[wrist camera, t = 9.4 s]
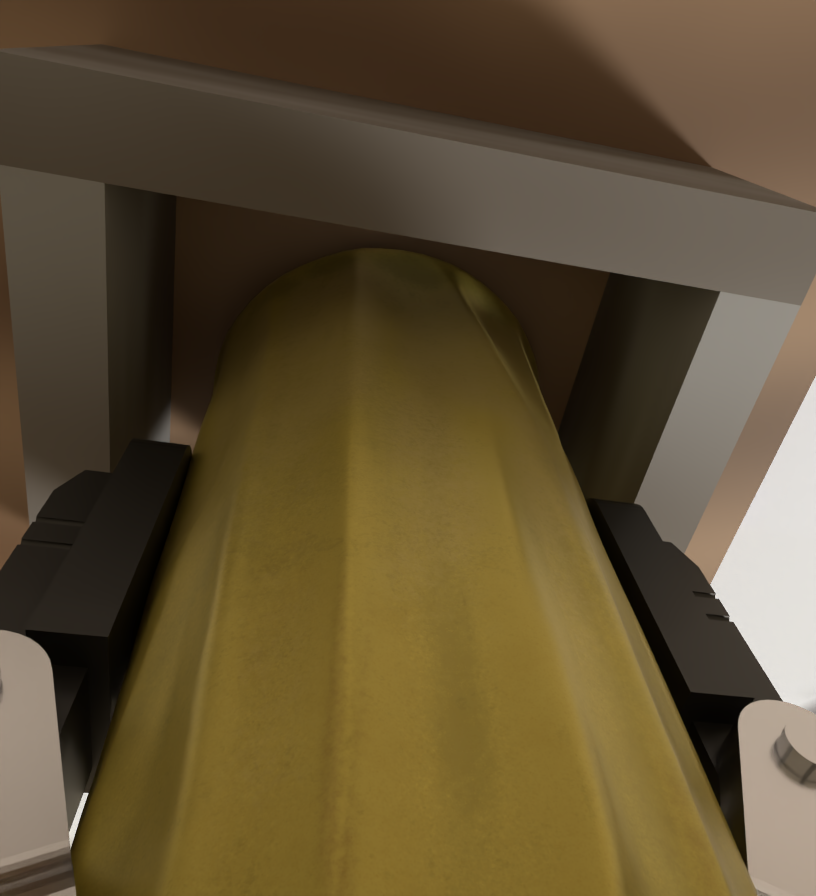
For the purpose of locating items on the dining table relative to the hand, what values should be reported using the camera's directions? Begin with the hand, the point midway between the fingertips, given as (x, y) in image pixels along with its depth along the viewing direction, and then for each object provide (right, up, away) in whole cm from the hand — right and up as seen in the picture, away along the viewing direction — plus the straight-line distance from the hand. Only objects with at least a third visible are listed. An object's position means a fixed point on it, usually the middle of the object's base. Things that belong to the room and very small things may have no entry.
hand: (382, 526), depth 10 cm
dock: (0, +3, +6) cm, 6 cm away
